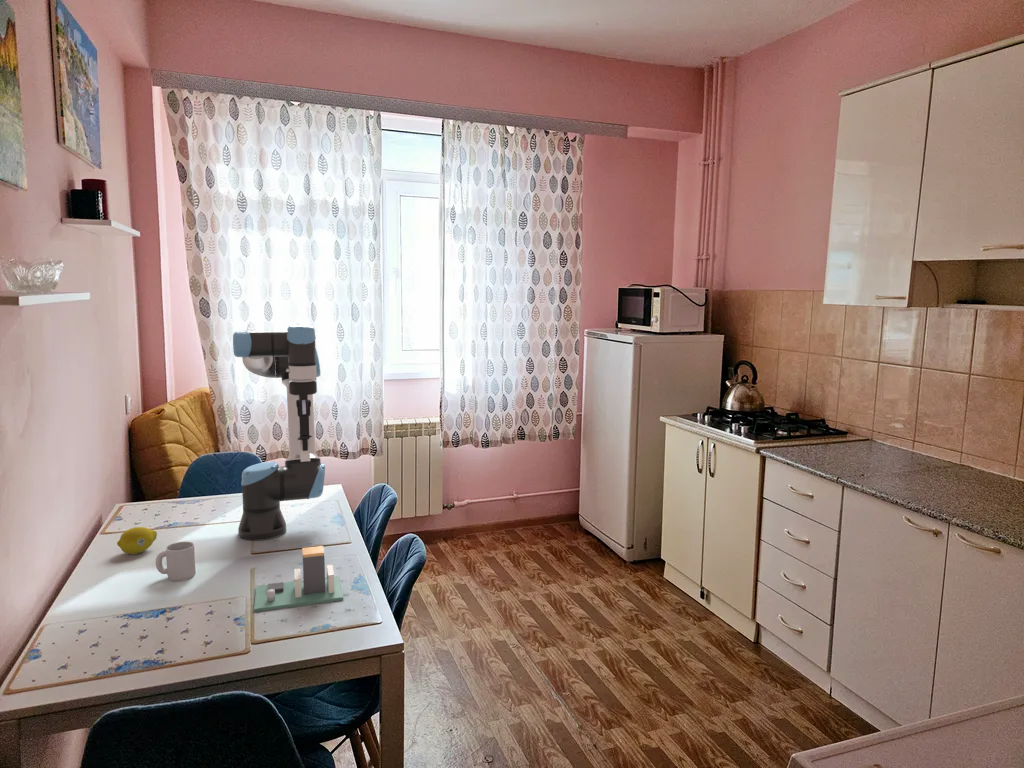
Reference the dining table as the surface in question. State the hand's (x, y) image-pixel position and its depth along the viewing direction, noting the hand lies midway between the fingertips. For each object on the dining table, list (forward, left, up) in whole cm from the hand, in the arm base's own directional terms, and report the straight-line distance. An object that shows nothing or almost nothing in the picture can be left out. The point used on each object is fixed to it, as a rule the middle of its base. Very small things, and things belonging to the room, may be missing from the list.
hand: (305, 460), depth 191 cm
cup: (-4, -36, -33) cm, 49 cm away
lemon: (-27, -50, -33) cm, 66 cm away
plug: (+18, +1, -31) cm, 36 cm away
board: (+18, -3, -32) cm, 37 cm away
